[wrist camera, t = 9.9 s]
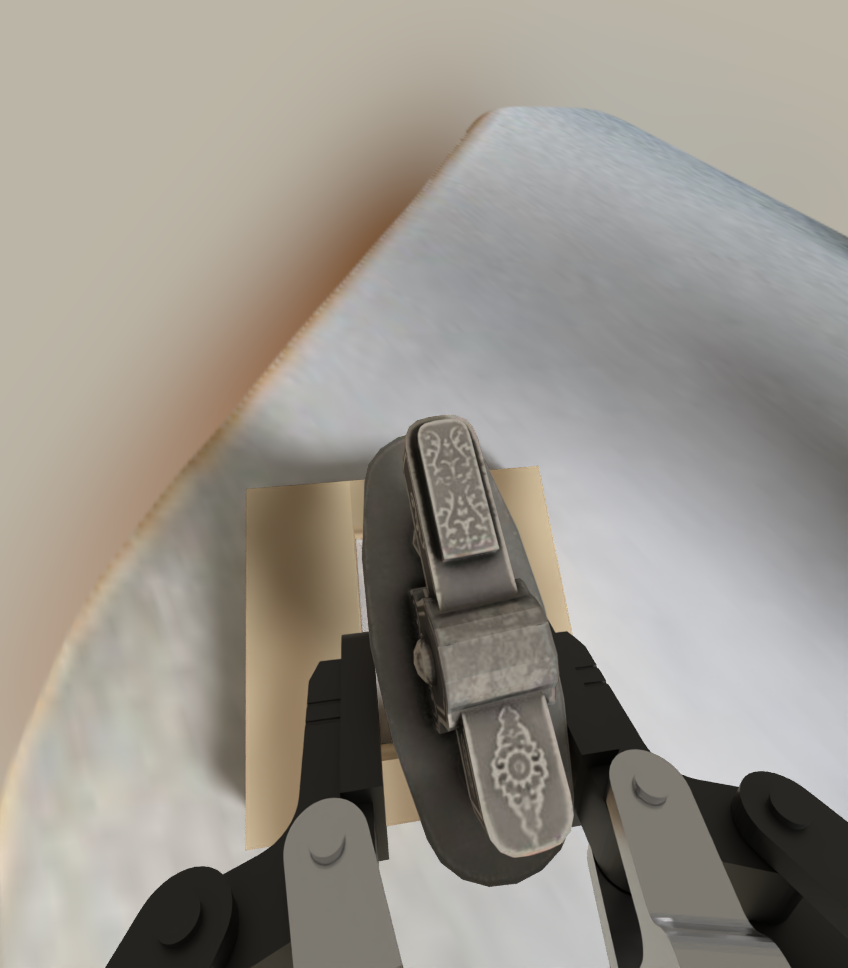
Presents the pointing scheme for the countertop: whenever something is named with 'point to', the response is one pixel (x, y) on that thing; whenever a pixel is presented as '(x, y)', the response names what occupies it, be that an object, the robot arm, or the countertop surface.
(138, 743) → the countertop surface
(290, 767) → the rail
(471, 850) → the lighter
